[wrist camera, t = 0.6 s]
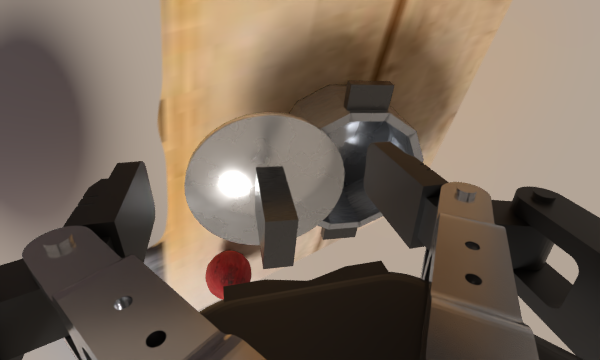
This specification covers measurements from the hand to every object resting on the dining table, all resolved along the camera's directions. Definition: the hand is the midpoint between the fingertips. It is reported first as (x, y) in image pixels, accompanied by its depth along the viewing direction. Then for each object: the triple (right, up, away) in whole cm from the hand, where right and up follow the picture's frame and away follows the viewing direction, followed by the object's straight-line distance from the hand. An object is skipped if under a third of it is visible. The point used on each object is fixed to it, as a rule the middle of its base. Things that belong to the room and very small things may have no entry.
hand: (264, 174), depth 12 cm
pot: (+6, +4, +27) cm, 28 cm away
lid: (-2, -1, +19) cm, 19 cm away
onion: (-9, -10, +34) cm, 36 cm away
